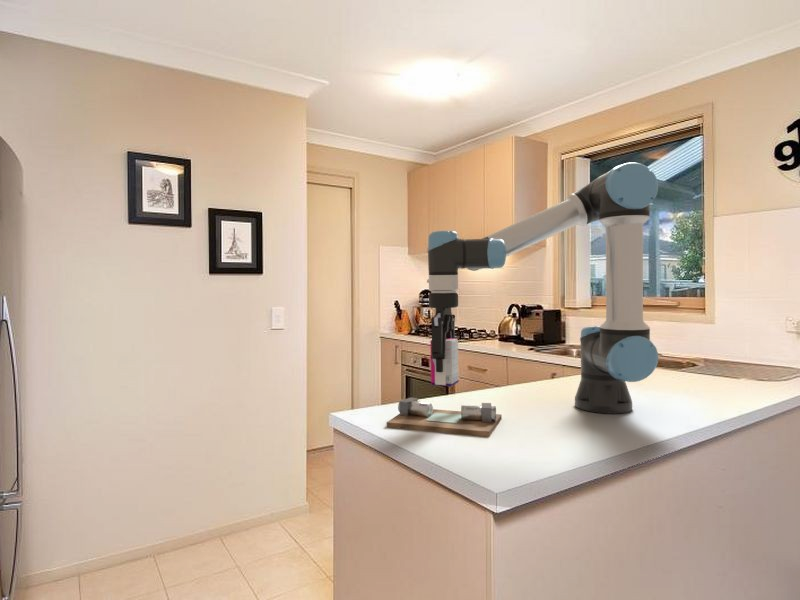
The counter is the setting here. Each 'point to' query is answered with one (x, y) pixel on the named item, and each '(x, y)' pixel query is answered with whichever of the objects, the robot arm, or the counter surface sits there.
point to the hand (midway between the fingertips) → (444, 382)
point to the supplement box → (448, 362)
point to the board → (445, 423)
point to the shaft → (414, 408)
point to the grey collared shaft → (479, 413)
